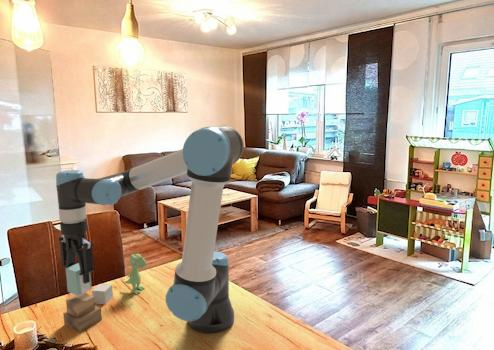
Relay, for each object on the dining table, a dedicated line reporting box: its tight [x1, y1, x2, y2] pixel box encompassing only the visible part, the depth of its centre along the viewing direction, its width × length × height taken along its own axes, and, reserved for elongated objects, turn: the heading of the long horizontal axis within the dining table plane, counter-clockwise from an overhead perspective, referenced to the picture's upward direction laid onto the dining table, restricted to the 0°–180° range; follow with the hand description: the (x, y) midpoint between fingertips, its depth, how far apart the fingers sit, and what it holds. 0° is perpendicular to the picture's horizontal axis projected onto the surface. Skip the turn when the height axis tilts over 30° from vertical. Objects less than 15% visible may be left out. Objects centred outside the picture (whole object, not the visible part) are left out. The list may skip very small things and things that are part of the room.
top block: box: [65, 292, 96, 318], centre depth 115 cm, size 6×6×4 cm
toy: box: [122, 253, 147, 295], centre depth 135 cm, size 7×8×15 cm
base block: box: [63, 305, 103, 333], centre depth 116 cm, size 8×8×4 cm
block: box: [91, 283, 114, 305], centre depth 129 cm, size 5×5×5 cm
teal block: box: [65, 262, 93, 296], centre depth 113 cm, size 5×5×8 cm
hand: (79, 289), depth 114 cm, fingers open, 5 cm apart
